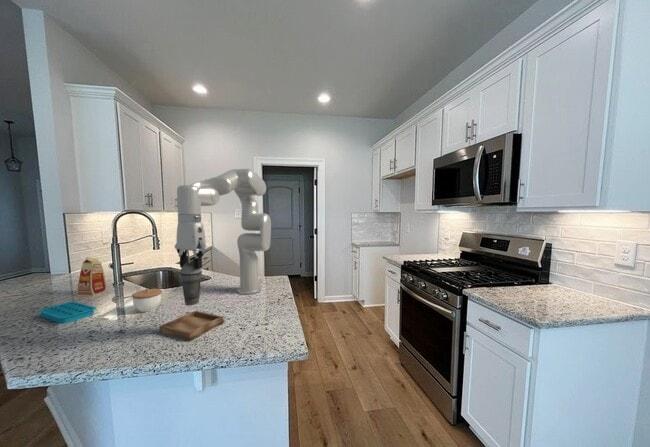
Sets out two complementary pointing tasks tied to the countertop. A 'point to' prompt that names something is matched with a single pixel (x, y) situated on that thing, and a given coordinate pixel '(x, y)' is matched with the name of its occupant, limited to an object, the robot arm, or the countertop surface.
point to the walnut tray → (191, 325)
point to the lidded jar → (147, 299)
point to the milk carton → (91, 278)
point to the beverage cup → (191, 282)
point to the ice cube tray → (67, 312)
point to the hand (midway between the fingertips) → (191, 267)
